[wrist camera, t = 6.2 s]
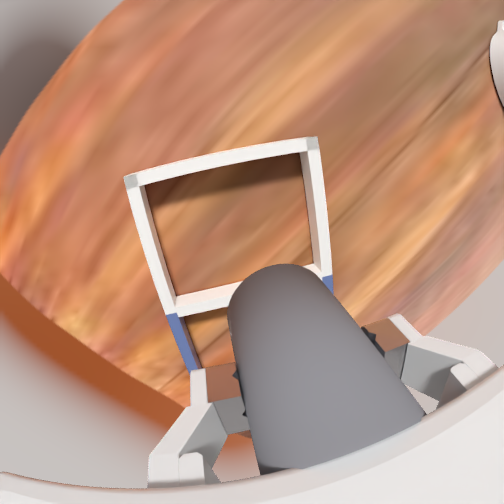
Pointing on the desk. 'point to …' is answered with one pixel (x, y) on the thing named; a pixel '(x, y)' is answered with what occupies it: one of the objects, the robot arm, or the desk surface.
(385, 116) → the desk surface
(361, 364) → the smooth grey pebble
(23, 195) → the desk surface
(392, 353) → the robot arm
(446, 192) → the desk surface
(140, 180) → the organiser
